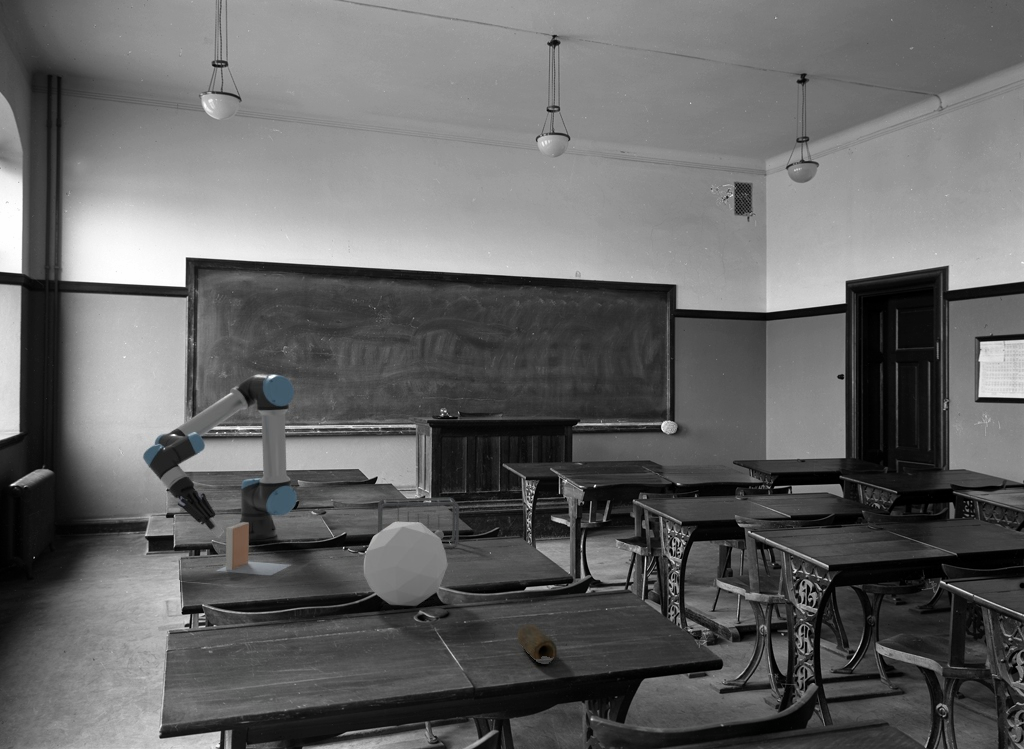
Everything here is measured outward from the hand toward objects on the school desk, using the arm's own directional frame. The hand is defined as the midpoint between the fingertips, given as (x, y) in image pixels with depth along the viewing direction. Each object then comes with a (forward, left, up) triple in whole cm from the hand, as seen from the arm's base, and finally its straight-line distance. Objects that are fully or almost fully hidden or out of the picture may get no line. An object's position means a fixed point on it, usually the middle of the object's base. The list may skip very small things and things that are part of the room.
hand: (220, 534), depth 271 cm
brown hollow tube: (-25, +128, -11) cm, 131 cm away
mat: (-7, +10, -11) cm, 17 cm away
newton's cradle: (-70, +17, -11) cm, 73 cm away
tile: (-4, +5, -10) cm, 12 cm away
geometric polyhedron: (-25, +73, -11) cm, 78 cm away
